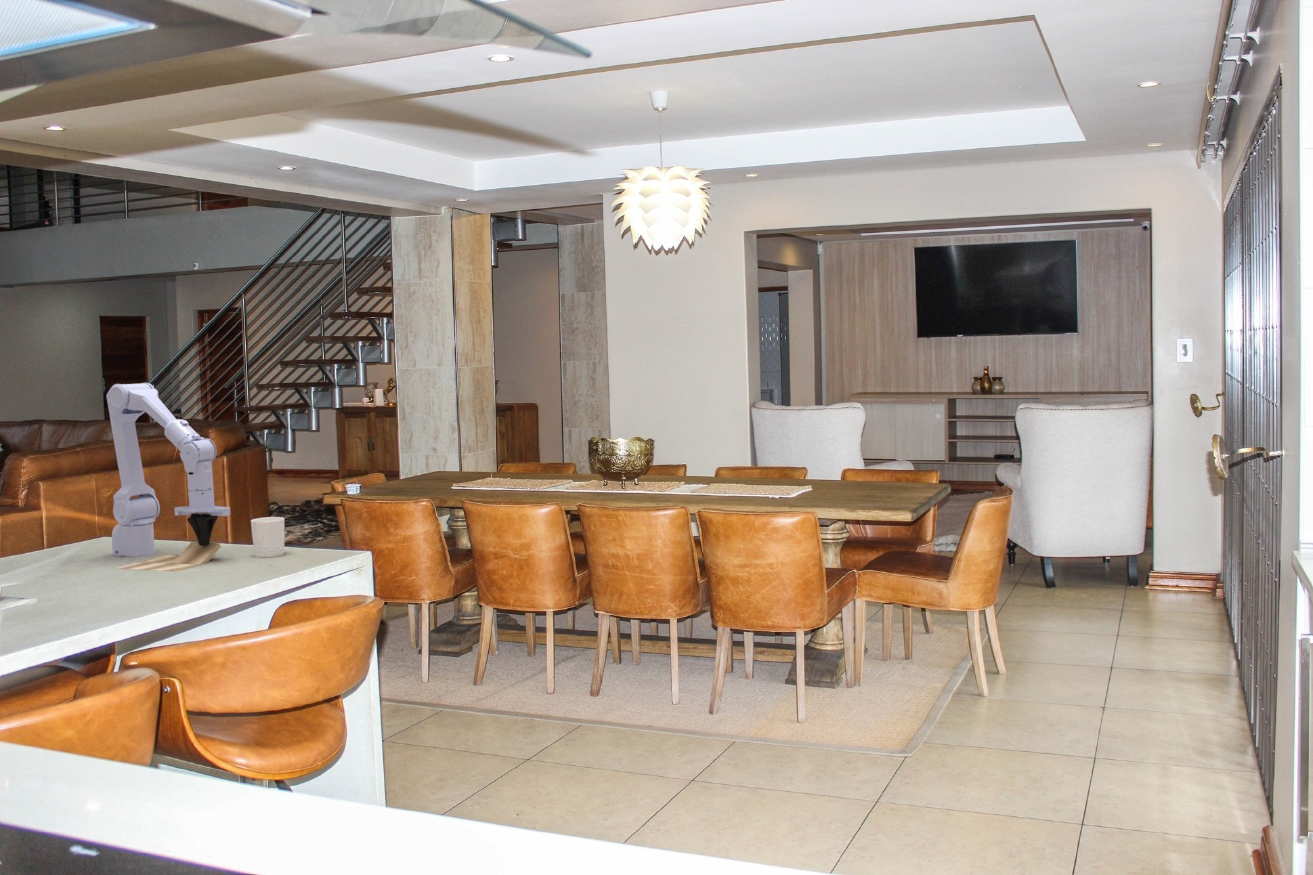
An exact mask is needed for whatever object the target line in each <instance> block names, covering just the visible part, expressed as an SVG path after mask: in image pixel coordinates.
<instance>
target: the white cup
mask: <svg viewBox="0 0 1313 875" xmlns="http://www.w3.org/2000/svg"><path fill="white" fill-rule="evenodd" d="M250 526H251V537H252V543H253V550H254V556H255V557H256V558H271V557H273V558H274V557H278V556H283V555H284V554H285V549H284V548H285V518H284V517H282V516H281V517H280V516H268V517H267V516H265V517H259V518H257V517H256V518H253V519H251V520H250Z"/></svg>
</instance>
